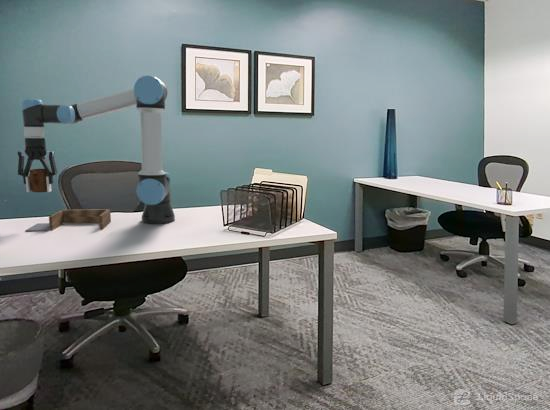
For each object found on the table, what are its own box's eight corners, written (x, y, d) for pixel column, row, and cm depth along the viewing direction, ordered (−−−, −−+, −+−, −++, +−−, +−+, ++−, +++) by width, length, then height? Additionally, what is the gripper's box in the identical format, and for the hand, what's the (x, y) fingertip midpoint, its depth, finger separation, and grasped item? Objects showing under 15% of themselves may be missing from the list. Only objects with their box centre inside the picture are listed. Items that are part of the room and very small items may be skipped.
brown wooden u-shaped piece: (110, 221, 202) (110, 209, 200) (102, 229, 187) (102, 215, 186) (62, 222, 199) (61, 209, 197) (49, 230, 184) (48, 216, 183)
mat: (58, 224, 195) (58, 223, 195) (47, 231, 182) (47, 229, 182) (37, 224, 194) (37, 223, 194) (25, 231, 181) (25, 230, 181)
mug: (41, 194, 179) (39, 171, 178) (22, 194, 179) (20, 171, 177) (54, 190, 191) (52, 168, 190) (36, 189, 191) (34, 168, 189)
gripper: (63, 137, 186) (67, 190, 190) (12, 136, 183) (17, 190, 187) (57, 138, 179) (61, 192, 183) (4, 137, 176) (9, 193, 180)
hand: (39, 191), depth 185 cm, fingers closed on mug, 7 cm apart
